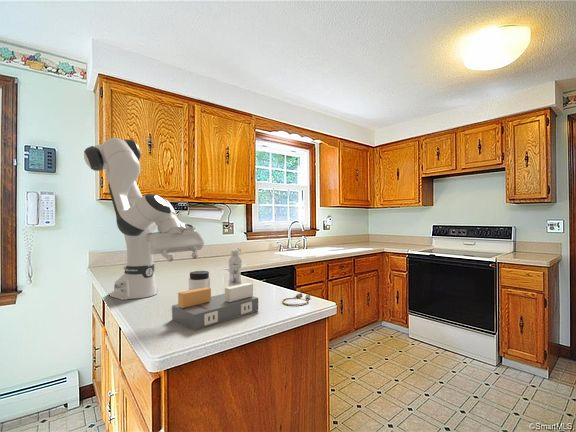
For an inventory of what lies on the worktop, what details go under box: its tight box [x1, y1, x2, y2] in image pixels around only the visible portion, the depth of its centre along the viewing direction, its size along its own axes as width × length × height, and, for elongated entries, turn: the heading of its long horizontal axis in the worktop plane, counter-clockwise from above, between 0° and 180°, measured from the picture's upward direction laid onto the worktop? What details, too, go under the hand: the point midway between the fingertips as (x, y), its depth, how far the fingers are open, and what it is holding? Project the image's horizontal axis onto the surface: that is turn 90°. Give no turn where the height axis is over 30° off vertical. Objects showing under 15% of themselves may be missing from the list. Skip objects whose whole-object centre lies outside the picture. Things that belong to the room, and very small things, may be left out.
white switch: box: [224, 282, 254, 302], centre depth 112 cm, size 3×11×5 cm, turn 137°
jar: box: [188, 270, 211, 291], centre depth 130 cm, size 9×8×12 cm
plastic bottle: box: [227, 249, 243, 287], centre depth 142 cm, size 6×7×20 cm
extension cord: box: [281, 292, 311, 307], centre depth 126 cm, size 12×16×2 cm
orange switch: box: [177, 287, 212, 308], centre depth 105 cm, size 3×11×5 cm, turn 137°
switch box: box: [171, 293, 259, 331], centre depth 110 cm, size 22×27×5 cm
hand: (183, 258), depth 108 cm, fingers open, 8 cm apart
